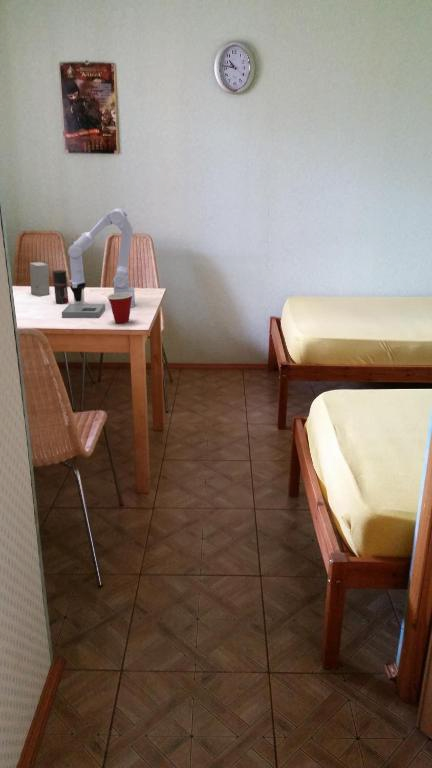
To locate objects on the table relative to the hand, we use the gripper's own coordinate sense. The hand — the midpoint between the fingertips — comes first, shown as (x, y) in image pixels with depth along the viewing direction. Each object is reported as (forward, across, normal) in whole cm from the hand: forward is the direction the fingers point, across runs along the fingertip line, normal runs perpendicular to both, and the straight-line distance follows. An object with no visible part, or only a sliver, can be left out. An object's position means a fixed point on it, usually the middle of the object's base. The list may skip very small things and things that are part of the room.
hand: (79, 300), depth 290 cm
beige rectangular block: (+3, 0, 0) cm, 3 cm away
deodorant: (+3, -7, -10) cm, 13 cm away
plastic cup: (+3, +29, +24) cm, 38 cm away
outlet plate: (+3, +14, +5) cm, 15 cm away
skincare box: (+3, -25, -25) cm, 35 cm away
